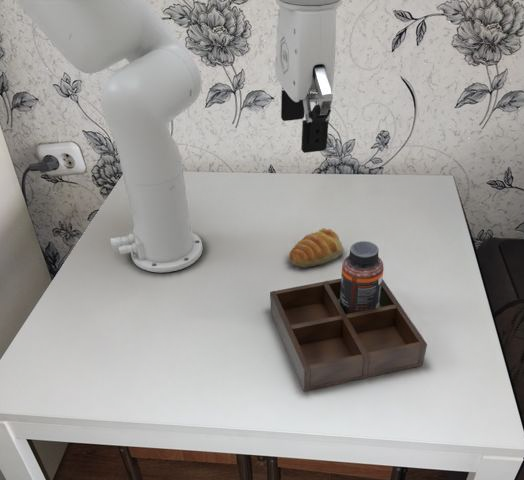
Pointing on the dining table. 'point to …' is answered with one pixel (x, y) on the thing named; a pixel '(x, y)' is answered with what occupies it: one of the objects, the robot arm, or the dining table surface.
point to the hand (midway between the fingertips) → (302, 134)
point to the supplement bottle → (361, 278)
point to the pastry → (316, 249)
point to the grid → (343, 335)
